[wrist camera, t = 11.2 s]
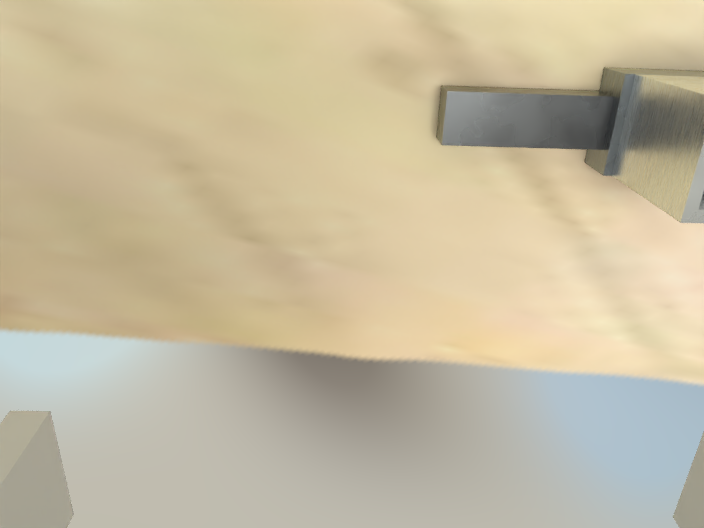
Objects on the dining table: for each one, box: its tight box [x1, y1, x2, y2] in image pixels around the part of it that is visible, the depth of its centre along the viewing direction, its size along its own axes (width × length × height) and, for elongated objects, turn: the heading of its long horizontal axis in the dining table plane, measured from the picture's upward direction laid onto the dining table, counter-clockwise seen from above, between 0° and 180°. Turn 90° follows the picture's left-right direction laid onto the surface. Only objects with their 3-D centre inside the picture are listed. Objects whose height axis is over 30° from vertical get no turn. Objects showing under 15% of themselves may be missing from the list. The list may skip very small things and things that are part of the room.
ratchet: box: [436, 67, 704, 176], centre depth 34 cm, size 17×6×8 cm, turn 88°
